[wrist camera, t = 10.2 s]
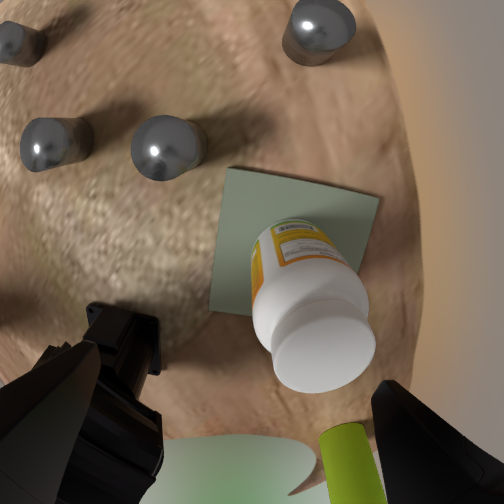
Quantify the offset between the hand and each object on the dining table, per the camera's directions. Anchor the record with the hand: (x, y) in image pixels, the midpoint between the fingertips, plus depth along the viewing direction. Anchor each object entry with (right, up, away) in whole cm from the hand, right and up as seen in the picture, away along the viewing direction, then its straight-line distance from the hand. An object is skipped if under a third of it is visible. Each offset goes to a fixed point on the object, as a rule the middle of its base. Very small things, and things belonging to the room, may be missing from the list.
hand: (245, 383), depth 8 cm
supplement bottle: (+3, +4, +11) cm, 12 cm away
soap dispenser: (+11, -19, +21) cm, 31 cm away
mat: (+3, +4, +12) cm, 13 cm away
